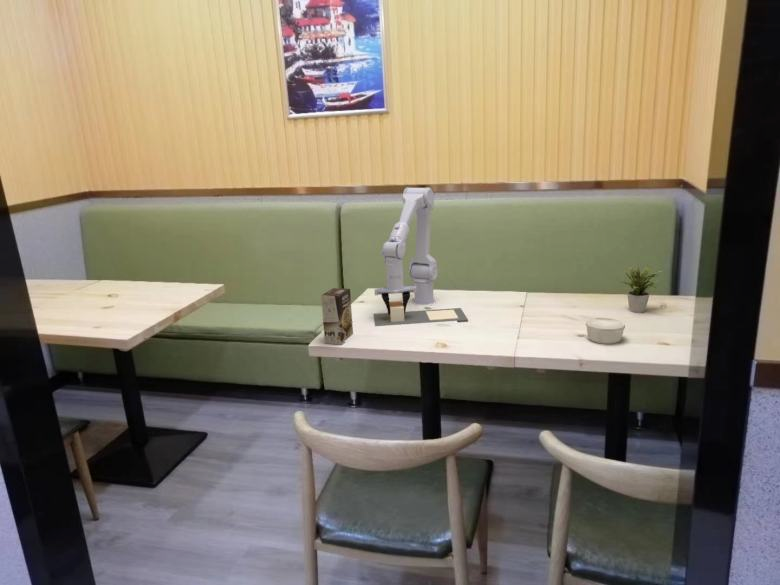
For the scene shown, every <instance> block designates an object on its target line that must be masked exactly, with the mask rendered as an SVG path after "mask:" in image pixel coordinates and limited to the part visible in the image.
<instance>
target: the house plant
mask: <svg viewBox="0 0 780 585" xmlns="http://www.w3.org/2000/svg"><path fill="white" fill-rule="evenodd" d="M628 267H629V270H630V274H629V273H628V272H626V271H625V270H623V272H624V273H625V274H626V276H627V277H628V278H629V280H630V281H628V282H627V281H624V280H622V281H620V282H619V283H621V284H625V285H628V286H629V287H630V288H631V290H630V291H629V290H628V291H627V293H626V294H627V300H628V302H627V303H628V310H629V312H632V313H640V314H642V313H645V312H646V311H647V306H648V302H649V298H650V293H649V292H648V291H647V290H649V289H650V288H651V287H652V288H655V289H657V287H656V285H655V282H656V283H657V280H653V281H650V280H651V279H652V278H655V277H657V275H658V274H659V273H660V272H662V270H659V271H656V272H653V273H652V274H649V272H650V270H651V268H652V267H651V266H650V267H648V265H646V266H645V268H644V269H643V271H642V272H641V270H640V269H639V265H638V264H636V269H637V270H634V269H633V267H631V266H628ZM660 276H661V275H660V274H659V277H660Z"/></svg>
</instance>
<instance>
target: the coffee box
mask: <svg viewBox="0 0 780 585" xmlns="http://www.w3.org/2000/svg"><path fill="white" fill-rule="evenodd" d="M320 297H321V308H322V309H321V311H322V323H323V324H322V325H323V337H324V344H330V345H331V344H332V345H341V346H342V345H344V343H345V342H346V341H347V340H348V339H349V338H351V336H352V335H354V329H353V328H354V327H353V325H354V324H353V316H352V315H353V313H352V297H351V289H350V288H341V287H340V288H335V287H334V288H331V289H329V290H327V291H326V292H325V293H323V294H321V296H320Z"/></svg>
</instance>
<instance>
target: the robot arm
mask: <svg viewBox="0 0 780 585" xmlns="http://www.w3.org/2000/svg"><path fill="white" fill-rule="evenodd" d="M434 195H435V194H434V192H433V190H432V188H431V187H428V186H427V187H408V186H407V187H405V188H404V190H403V193H402V202H403V206H402V210H401V214H400V216H399V219H398V222H396V223H395V224H394V225H393V228H392V230H391V233H390V235H389V238H388V240H387V241H386V242H384V243H383V245H382V250H381V255H382V257H383V261H384V263H385V272H386V273H385V274H386V287H385V286H383V287H379V288H374V296H379V295H381V299H382V300H383V302H384V305H385V306H386V310H387V313H388V315H390V307H389V302H390V295H389V294H392V295H394V294H401V296H402V297H401V298H402V303H403V307H404V314H405V312H406V308H407V305H408V303H409V300H410V298H411V293H414V298H412V302H413V304H414V306H428V305H436V304H437V303H436V301H435V298H434V281H435V280H436V279H437V277H438V274H439V273H438V272H439V271H438V270H439V269H438V266H437V264H438V263H437V260H436V259H435V258H434V257H432V256H431V254H430V251H431V250H430V249H431V248H430V245H431V241H430V240H431V211H433V210H434V204H435V203H434V200H435V198H434V197H435V196H434ZM415 213H416V234H415V235H416V236H415V238H416V242H415V244H416V245H415V247H416V248H415V255H414V256H413V257H412V258H410V261H409V267H408V275H409V278H410V279H412V280H411V281H412V282H413V285H404V266H403V258H404V257H405V255H406V246H407V244H406V241H407V239H408V237H409V234H410V231H411V230H410V227H409V226H410V223H411V222H412V219H413V218H414V216H415Z"/></svg>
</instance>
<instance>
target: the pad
mask: <svg viewBox="0 0 780 585" xmlns="http://www.w3.org/2000/svg"><path fill="white" fill-rule="evenodd" d="M426 313H427V315H428V318H429V320H430V321H431V320H445V319H458V316H457V315H456V313H455V311H454V310H440V311H426Z"/></svg>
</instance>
